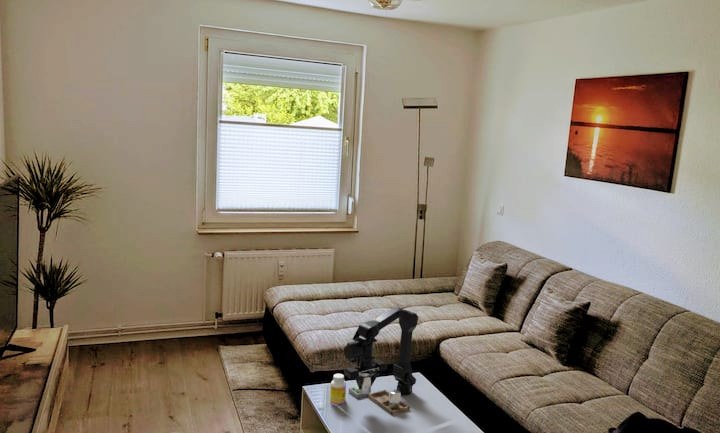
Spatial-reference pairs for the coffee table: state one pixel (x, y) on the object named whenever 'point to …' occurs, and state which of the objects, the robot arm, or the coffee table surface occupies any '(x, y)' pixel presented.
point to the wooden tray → (387, 402)
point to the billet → (366, 384)
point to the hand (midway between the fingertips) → (365, 387)
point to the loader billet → (394, 399)
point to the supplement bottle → (338, 390)
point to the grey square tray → (355, 394)
